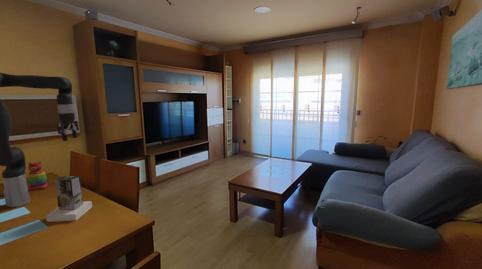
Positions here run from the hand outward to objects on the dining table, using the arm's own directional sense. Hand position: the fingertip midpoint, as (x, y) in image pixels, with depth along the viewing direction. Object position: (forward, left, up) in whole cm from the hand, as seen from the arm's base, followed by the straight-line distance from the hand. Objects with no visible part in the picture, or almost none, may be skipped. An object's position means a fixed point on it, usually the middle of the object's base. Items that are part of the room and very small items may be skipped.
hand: (70, 139), depth 135 cm
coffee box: (+10, -21, -33) cm, 40 cm away
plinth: (+10, -22, -37) cm, 44 cm away
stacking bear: (-36, +16, -36) cm, 54 cm away
